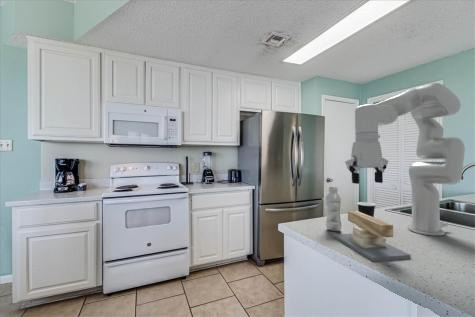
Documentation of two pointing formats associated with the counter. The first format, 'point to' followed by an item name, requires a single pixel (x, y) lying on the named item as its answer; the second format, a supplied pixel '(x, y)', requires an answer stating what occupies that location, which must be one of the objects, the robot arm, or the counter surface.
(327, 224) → the plastic bottle
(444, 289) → the counter surface
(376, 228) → the oak bar
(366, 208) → the dixie cup
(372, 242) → the stepped block
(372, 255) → the slate board
